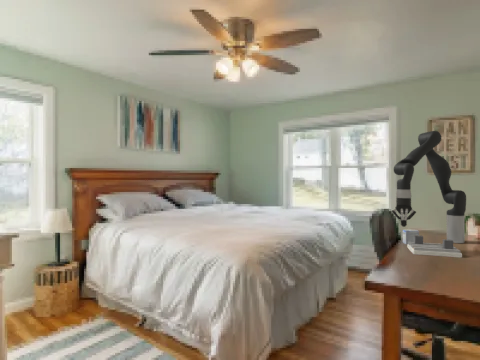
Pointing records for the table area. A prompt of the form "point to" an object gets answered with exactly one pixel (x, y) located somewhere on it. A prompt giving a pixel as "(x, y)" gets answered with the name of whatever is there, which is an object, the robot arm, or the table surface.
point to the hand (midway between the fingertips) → (403, 226)
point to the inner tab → (418, 239)
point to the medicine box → (409, 235)
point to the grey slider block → (447, 244)
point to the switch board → (433, 250)
